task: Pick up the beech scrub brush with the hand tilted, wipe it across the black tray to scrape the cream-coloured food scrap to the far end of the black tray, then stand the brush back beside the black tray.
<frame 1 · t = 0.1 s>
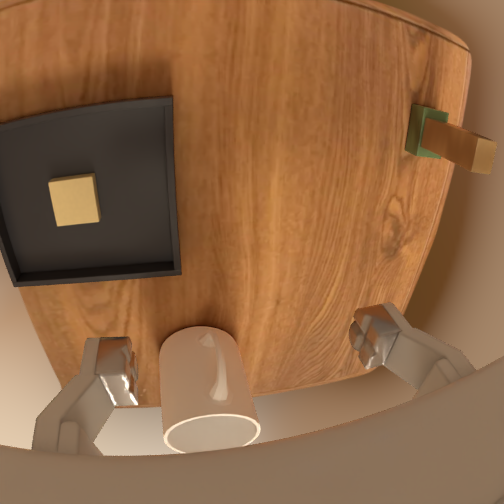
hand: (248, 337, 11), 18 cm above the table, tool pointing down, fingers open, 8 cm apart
mug: (197, 342, 37), on the table
black tray: (78, 195, 25), on the table
scrub brush: (421, 129, 28), on the table
food scrap: (76, 197, 24), point 1 cm above the table, touching black tray
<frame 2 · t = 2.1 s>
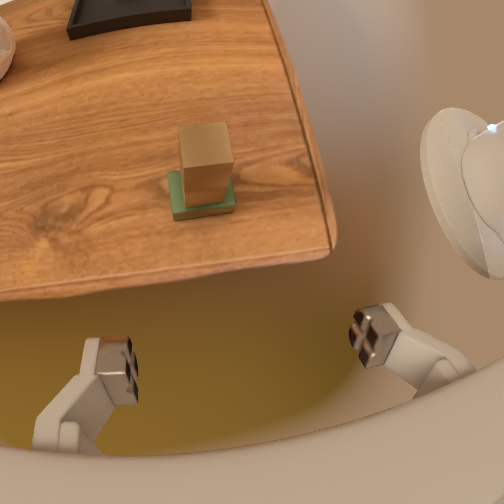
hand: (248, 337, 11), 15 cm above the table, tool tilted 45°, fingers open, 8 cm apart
scrub brush: (200, 196, 27), on the table
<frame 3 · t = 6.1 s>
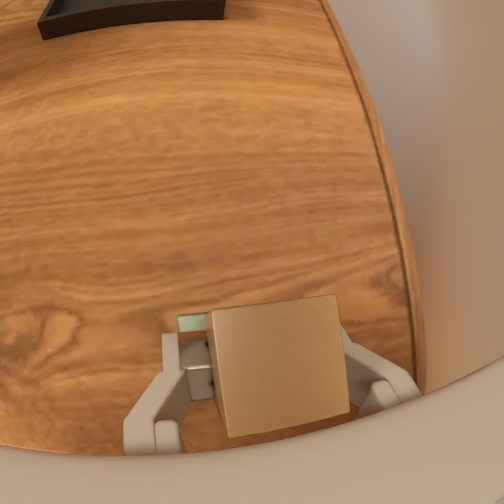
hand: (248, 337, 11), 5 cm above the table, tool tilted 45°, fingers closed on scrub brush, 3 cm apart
scrub brush: (233, 347, 16), on the table, touching gripper
when the fingers open (5 cm above the table, at t = 25.3 s): scrub brush stays where it is, on the table.
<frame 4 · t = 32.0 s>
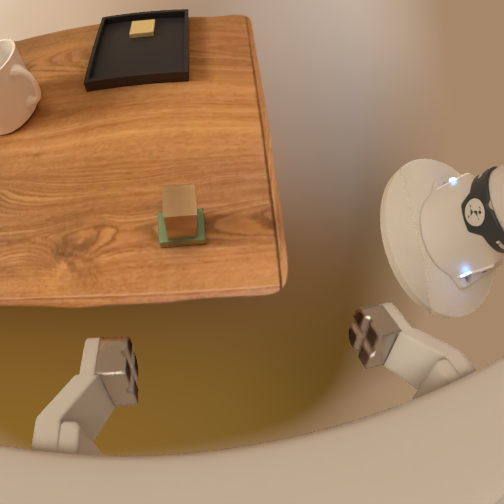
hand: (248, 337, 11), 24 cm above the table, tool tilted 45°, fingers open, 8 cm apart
mug: (20, 110, 36), on the table
black tray: (140, 48, 42), on the table
scrub brush: (181, 230, 36), on the table
food scrap: (142, 30, 42), point 1 cm above the table, touching black tray
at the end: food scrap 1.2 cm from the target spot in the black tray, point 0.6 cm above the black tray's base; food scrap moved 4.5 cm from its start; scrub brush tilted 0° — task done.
